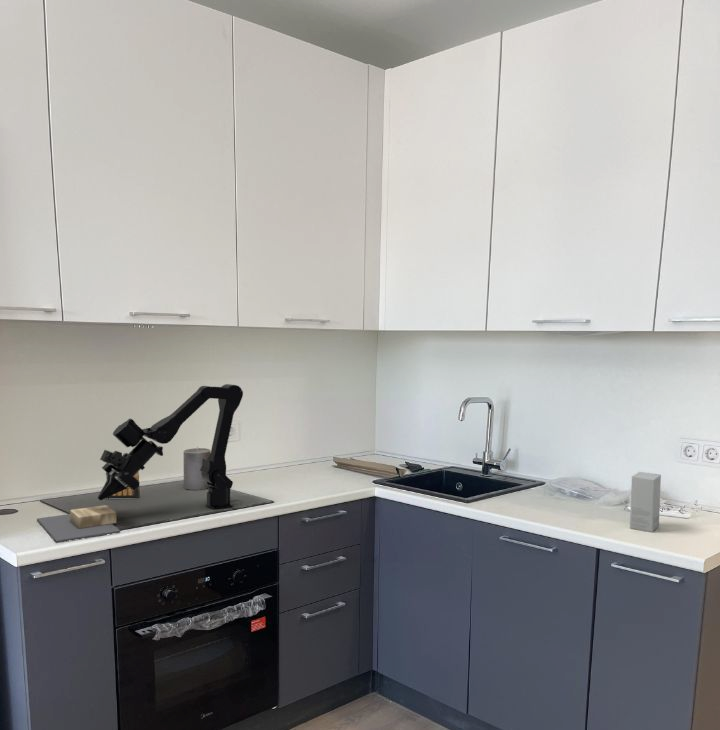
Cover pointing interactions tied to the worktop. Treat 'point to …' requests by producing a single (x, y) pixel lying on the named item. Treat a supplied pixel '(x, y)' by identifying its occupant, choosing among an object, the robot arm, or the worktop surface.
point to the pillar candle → (194, 468)
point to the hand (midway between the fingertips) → (98, 499)
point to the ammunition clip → (128, 492)
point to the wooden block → (92, 516)
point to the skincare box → (645, 501)
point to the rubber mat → (72, 529)
